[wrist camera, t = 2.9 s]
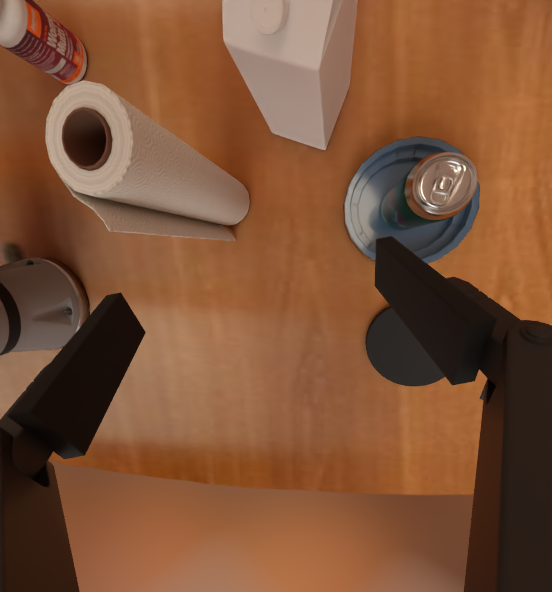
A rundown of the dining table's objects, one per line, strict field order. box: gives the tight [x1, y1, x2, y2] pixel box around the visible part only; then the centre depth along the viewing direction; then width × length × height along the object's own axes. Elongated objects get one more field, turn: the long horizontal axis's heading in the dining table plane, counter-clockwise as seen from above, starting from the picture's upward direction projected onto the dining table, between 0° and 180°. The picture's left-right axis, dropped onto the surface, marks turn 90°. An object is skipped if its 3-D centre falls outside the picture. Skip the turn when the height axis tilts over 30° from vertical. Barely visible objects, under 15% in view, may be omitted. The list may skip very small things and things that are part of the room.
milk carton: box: [222, 0, 358, 150], centre depth 22 cm, size 7×7×19 cm
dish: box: [344, 137, 480, 263], centre depth 30 cm, size 13×13×3 cm
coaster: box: [366, 306, 445, 386], centre depth 33 cm, size 11×11×1 cm
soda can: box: [381, 152, 478, 230], centre depth 25 cm, size 5×5×12 cm
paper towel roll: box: [45, 80, 250, 241], centre depth 25 cm, size 7×6×21 cm
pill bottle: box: [0, 0, 87, 84], centre depth 31 cm, size 6×6×11 cm
